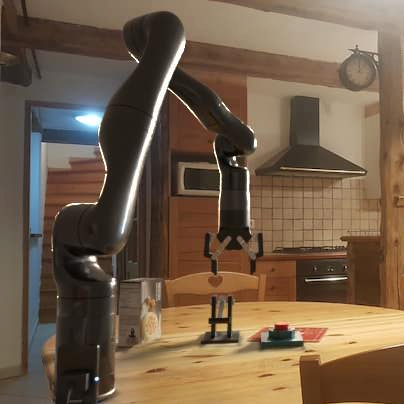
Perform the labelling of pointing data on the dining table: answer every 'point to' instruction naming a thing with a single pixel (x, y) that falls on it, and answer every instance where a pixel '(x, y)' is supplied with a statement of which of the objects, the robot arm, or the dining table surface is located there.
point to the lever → (220, 312)
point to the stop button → (281, 326)
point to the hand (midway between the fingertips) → (233, 275)
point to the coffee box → (139, 311)
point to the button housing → (281, 338)
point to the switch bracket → (215, 335)
